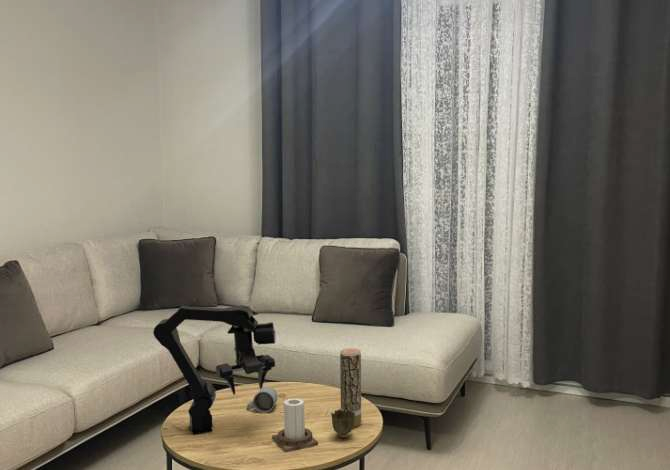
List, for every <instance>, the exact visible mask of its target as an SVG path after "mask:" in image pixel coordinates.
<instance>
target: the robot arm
mask: <svg viewBox="0 0 670 470" xmlns="http://www.w3.org/2000/svg"><path fill="white" fill-rule="evenodd" d="M189 320H190V321H204V322H218V323H224V324H227V325H230V326H231V327H230V328H228V330H227V334H229V335H230V334H233V338H234V340H233V341H234V347H233V350H234V352H235V359H234V360H235V362H234V363H235V364H234V365H230V364H229V363H221V364H218V365H216V367H215V374H216V375H217V376H218V377H219V378H220V379H223V380H225V381H226V382H227V384H228V386H229V389H230V391H231V393H232V395H234V396H235V395H236V388H235V381H234V378H235V377H234V375H233V374H234V373H233V372H237V371H242V370H243V371H244V374H246V375H251V374H255V373H257V375H258V376H257V377H258V386H259V388H260V389H259V390H261V389H262V388H263V387H264V383H265V379H266V376H267V373H268V372H269V371H272V368H275V367H276V360H275V359H274V358H273V357H272V356H270V355H269V354H261V355H260V354H259V355H256V353H255V352H256V351H255V348H254V345H253V342H254V343H255V344H257V345H260V346H261V345H272V344H276V330H275V326H274V322H272V321H271V322H266V323H259V322H258V320H257V319H256V318H255V317H254V316H253V315H252V311H251V309H250V308H249V306H246V305H235V306H229V307H223V308H222V307H221V308H220V307H204V306H202V307H201V306H189V305H186V304H185V305H182V306H180V307H179V309H177V311H176V312H174V313H173V314H172V315H171V316H170V317H169V318H164V319H162V320H161V321H159V323H157V324H156V325H155V326H154V329H153V331H152V332H153V335H154V336H153V337H154V338H155V339H156V340H157V342H158V343H160V345H161V346H162V347H164V348H165V349H166V350H167V351H168V352H169V354H170V355H171V357H172V358H173V359H172V360H174V362H175V364H176V365H177V367H178V369H179V370H180V372H181V374H182V376H183V377H184V379H185V380H186V383H187V384H188V386H189V388H190V391H191V397H192V399H193V400H192V402H191V405H190V407H189V408H188V414H189V415H188V417H189V426H188V429H189V431H190V432H191V434H192V433H193V434H192V435H197V434H198V433H199V434H204V433H209V432H212V431H213V415H212V414H211V410H210V409H211V408H212V406H213V404H214V402H215V400H216V397H217V394H216V390H217V389H216V388H215V387H214V386H213V384H212V381H211V380H210V379H209V380H208V381H205V380H204V379H203V378H202V377H201V375H200V373H199V371H198V370H197V368H196V366H195V365H194V363H193V361H192V360H191V357H190V356H189V355H188V354H189V353H187V351H186V349H185V348H184V345H182V342H181V340H180V334H179V331H178V326H179V325H181V324H182V323H184V321H189ZM199 434H198V435H199Z"/></svg>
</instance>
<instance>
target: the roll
mask: <svg viewBox="0 0 670 470" xmlns="http://www.w3.org/2000/svg"><path fill="white" fill-rule="evenodd" d="M283 422H284V425H283V426H284V428H283V429H284V432H285V438H286V439H290V440H297V439H302V438H304V437H305V427H306V425H305V400H304V399H302V398H288V399H285V400H284V401H283Z"/></svg>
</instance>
